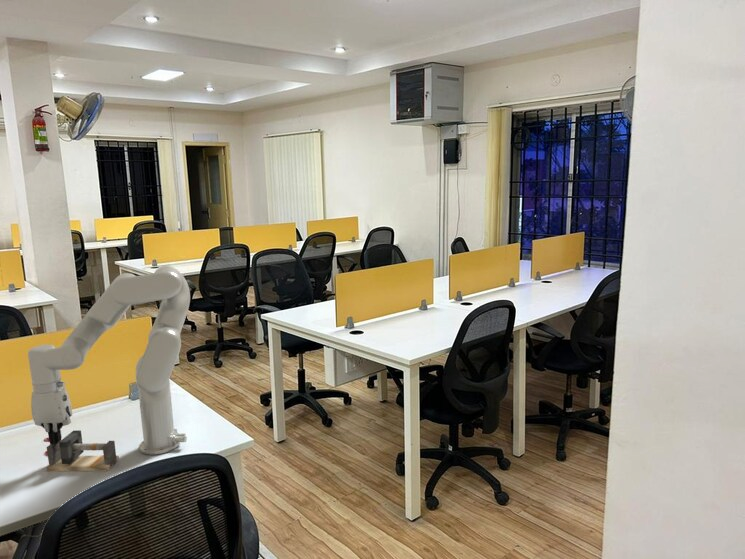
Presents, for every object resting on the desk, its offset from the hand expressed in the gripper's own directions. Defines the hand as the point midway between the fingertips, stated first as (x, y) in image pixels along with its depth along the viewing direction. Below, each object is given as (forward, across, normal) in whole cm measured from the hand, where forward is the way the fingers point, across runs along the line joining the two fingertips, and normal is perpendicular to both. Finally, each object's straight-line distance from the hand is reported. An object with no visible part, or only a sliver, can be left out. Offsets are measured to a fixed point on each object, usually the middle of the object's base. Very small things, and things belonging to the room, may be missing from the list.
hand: (55, 442), depth 167 cm
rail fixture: (+8, -8, 0) cm, 11 cm away
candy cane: (+8, +9, -12) cm, 17 cm away
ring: (+5, -5, 0) cm, 7 cm away
